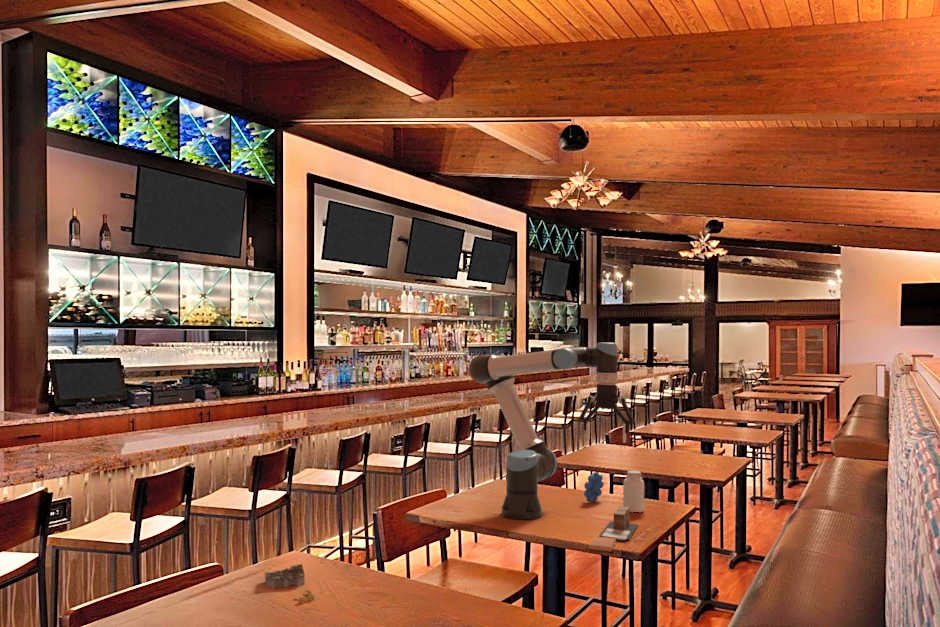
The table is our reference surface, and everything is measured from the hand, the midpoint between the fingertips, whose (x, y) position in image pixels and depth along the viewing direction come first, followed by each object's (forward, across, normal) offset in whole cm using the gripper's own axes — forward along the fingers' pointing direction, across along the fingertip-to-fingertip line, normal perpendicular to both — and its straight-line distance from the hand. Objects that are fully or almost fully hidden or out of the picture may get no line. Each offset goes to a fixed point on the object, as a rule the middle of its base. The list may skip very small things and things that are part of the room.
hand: (606, 440), depth 278 cm
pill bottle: (+29, +8, +16) cm, 34 cm away
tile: (+28, +6, -30) cm, 41 cm away
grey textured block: (+29, -68, -105) cm, 128 cm away
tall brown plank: (+28, +8, -16) cm, 34 cm away
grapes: (+29, -10, +24) cm, 39 cm away
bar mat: (+29, +8, -16) cm, 34 cm away
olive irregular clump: (+30, -56, -113) cm, 129 cm away
